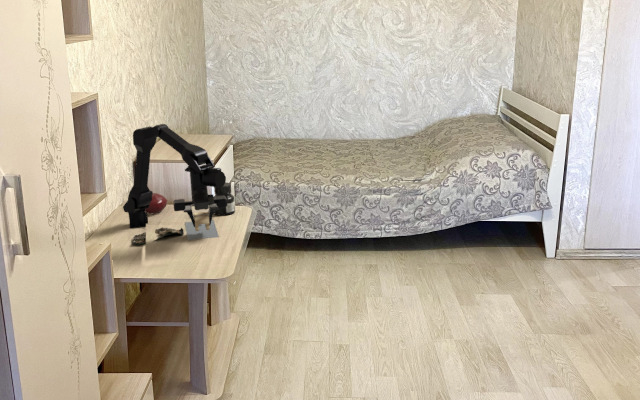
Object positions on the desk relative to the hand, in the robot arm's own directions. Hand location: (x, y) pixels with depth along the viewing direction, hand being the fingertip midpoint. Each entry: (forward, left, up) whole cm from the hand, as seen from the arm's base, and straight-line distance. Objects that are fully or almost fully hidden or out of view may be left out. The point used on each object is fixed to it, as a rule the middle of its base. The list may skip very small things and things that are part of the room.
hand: (202, 225), depth 238 cm
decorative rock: (-16, +5, -6) cm, 18 cm away
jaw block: (0, 0, -1) cm, 1 cm away
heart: (-16, +39, -5) cm, 43 cm away
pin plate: (0, +6, -5) cm, 8 cm away
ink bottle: (+11, +29, -5) cm, 32 cm away
